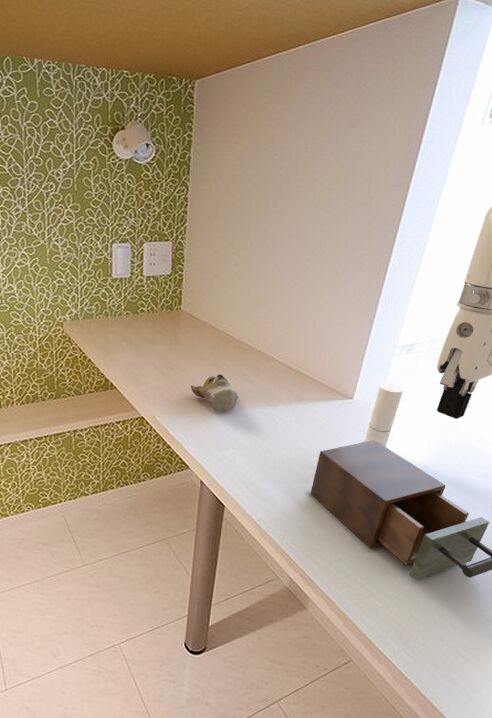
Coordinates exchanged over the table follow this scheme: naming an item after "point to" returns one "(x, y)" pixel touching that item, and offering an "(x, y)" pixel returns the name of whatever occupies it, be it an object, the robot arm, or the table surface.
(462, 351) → the robot arm
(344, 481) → the cabinet
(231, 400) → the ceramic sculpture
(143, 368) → the table surface
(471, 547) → the drawer
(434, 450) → the table surface
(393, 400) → the tube
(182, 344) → the table surface
